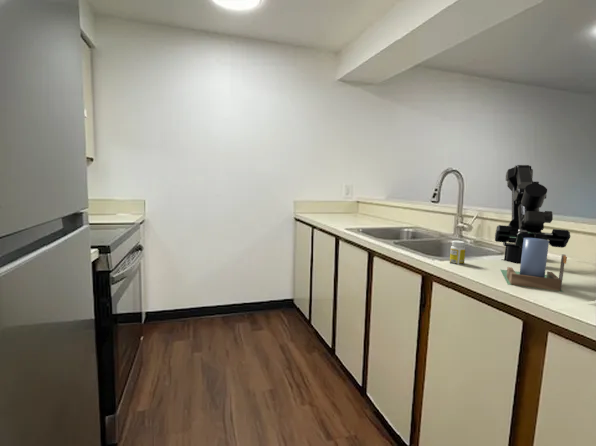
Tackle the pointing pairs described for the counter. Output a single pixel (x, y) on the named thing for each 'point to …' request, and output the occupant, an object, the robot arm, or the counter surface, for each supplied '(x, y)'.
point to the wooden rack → (538, 278)
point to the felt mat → (518, 273)
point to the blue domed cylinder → (534, 257)
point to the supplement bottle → (457, 253)
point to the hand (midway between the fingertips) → (532, 258)
